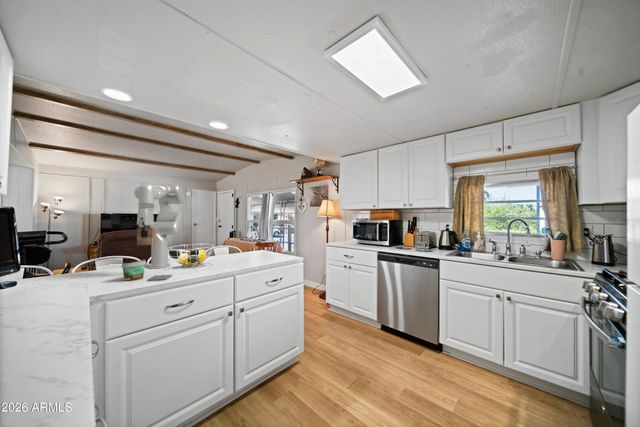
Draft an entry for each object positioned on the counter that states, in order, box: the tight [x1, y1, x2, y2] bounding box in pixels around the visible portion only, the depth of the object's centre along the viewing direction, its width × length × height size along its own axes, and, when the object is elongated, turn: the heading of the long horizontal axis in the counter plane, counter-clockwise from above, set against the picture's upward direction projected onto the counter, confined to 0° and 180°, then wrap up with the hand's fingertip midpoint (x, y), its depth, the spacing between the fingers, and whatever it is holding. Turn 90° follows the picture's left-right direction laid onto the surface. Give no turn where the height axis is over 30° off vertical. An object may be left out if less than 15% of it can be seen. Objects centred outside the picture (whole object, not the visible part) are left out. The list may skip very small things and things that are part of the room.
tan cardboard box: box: [136, 227, 155, 246], centre depth 140 cm, size 4×8×10 cm, turn 103°
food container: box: [121, 259, 147, 282], centre depth 131 cm, size 12×6×10 cm, turn 168°
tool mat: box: [146, 274, 173, 282], centre depth 133 cm, size 9×9×1 cm
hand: (145, 236), depth 140 cm, fingers closed on tan cardboard box, 3 cm apart
